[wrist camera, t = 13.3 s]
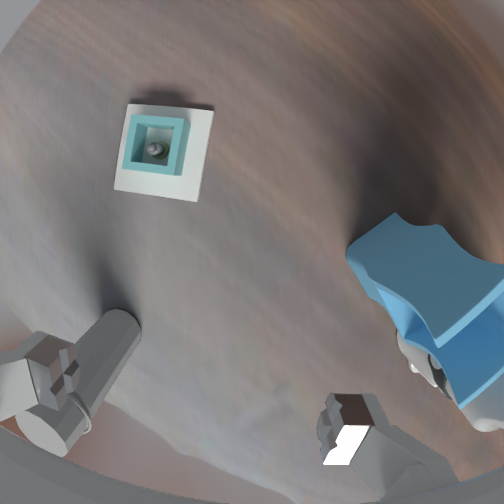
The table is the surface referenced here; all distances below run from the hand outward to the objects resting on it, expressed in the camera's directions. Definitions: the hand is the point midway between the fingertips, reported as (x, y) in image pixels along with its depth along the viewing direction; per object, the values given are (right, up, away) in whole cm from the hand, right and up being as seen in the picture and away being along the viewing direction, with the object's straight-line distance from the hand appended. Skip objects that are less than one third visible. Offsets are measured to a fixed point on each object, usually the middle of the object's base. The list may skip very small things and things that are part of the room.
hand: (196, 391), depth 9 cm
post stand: (-10, +18, +30) cm, 36 cm away
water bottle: (-19, -8, +37) cm, 42 cm away
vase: (+21, +3, +33) cm, 39 cm away
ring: (-10, +18, +29) cm, 35 cm away
